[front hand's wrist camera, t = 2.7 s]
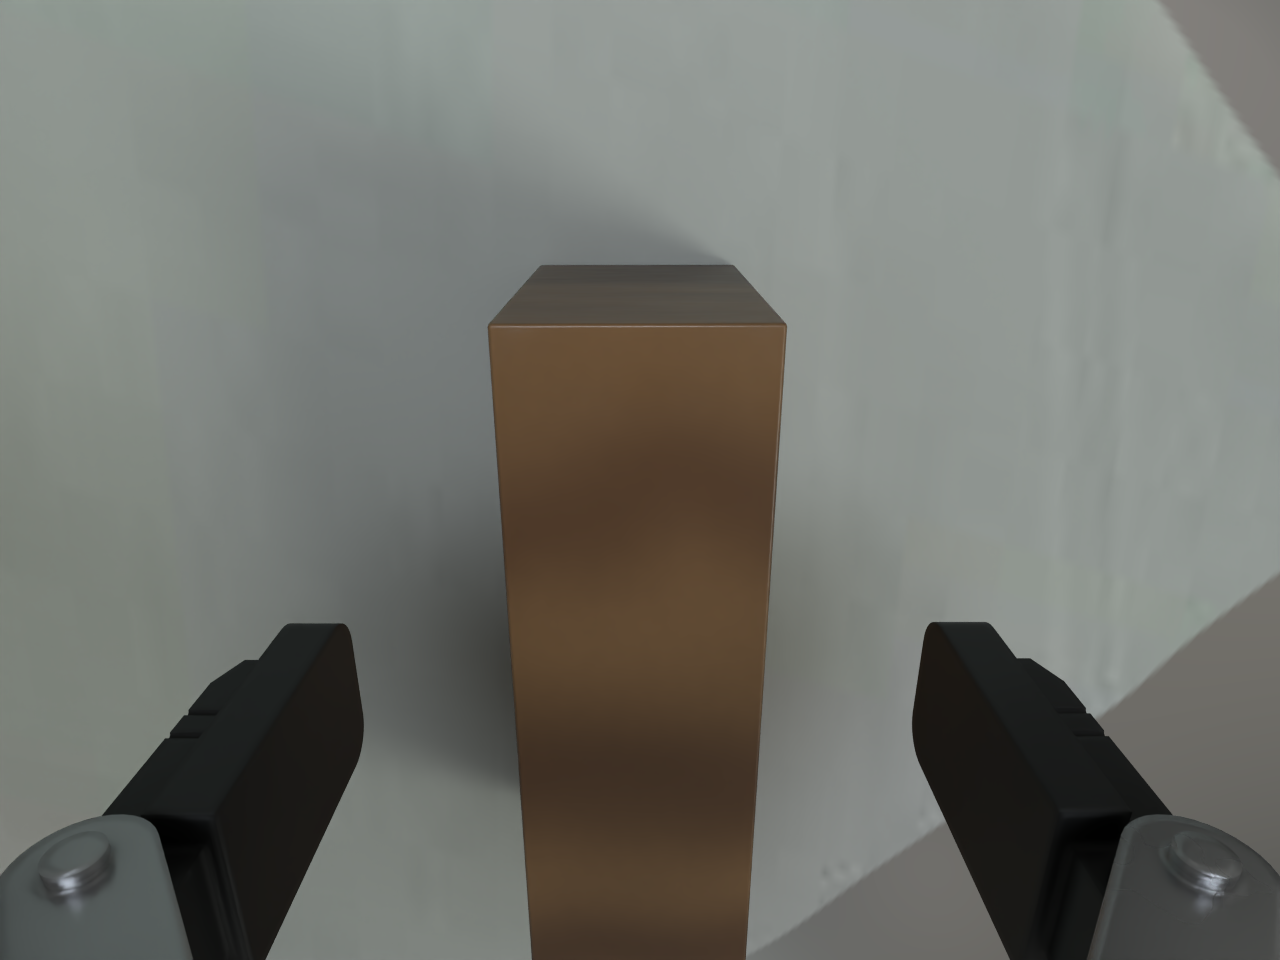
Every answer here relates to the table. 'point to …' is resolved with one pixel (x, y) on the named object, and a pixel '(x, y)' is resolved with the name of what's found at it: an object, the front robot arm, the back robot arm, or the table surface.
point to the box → (637, 597)
